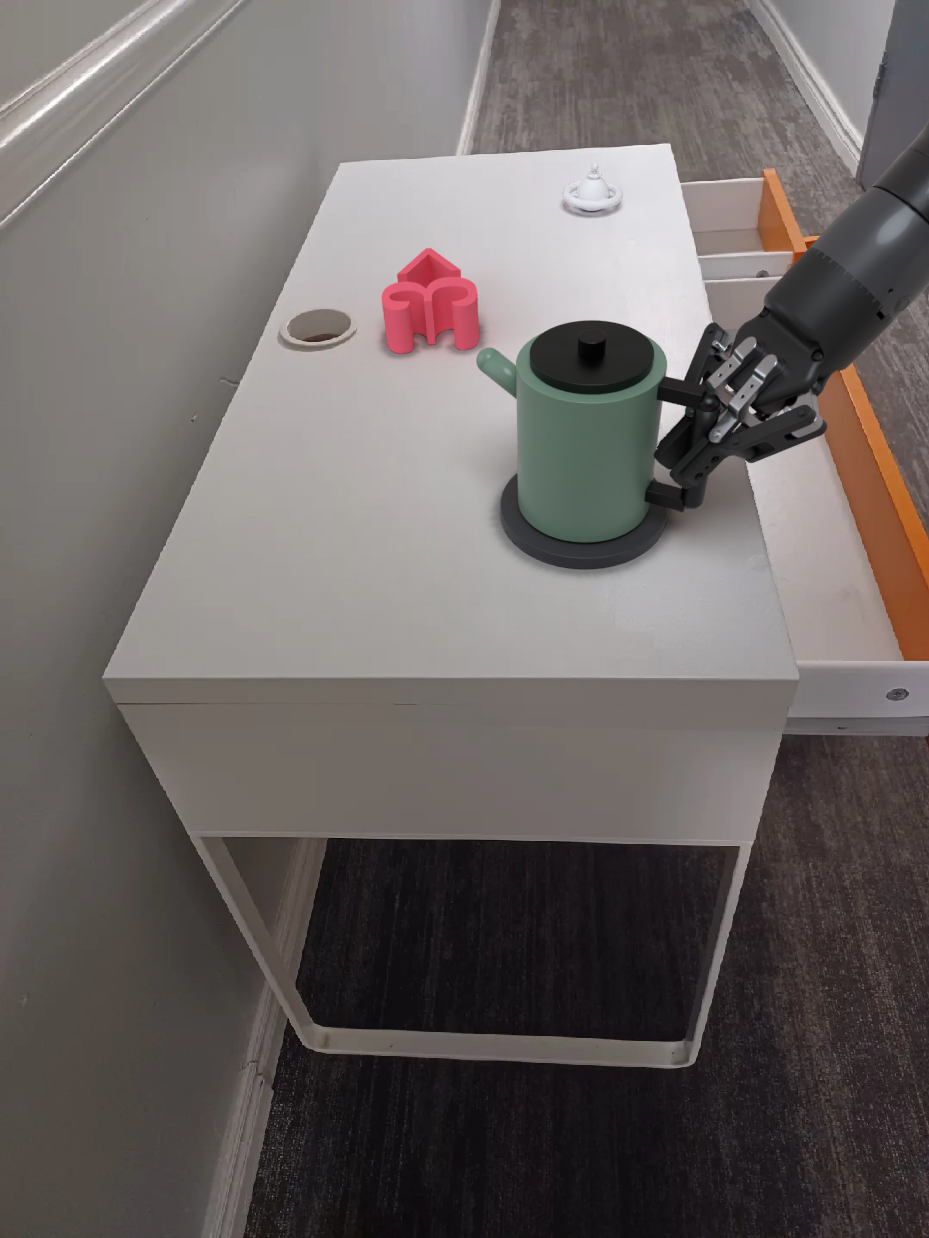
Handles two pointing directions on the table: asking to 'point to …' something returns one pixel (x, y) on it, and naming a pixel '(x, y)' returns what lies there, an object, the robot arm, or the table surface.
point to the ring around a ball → (592, 192)
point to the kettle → (594, 427)
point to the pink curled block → (430, 304)
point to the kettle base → (578, 552)
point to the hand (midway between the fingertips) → (670, 472)
